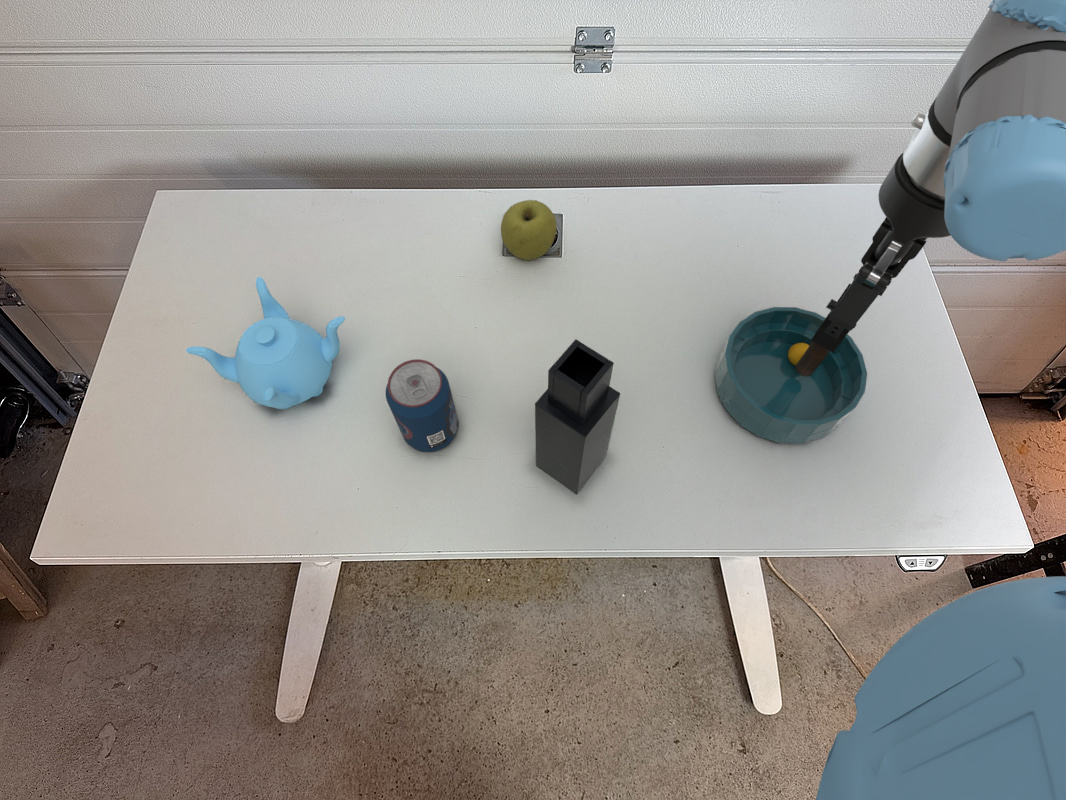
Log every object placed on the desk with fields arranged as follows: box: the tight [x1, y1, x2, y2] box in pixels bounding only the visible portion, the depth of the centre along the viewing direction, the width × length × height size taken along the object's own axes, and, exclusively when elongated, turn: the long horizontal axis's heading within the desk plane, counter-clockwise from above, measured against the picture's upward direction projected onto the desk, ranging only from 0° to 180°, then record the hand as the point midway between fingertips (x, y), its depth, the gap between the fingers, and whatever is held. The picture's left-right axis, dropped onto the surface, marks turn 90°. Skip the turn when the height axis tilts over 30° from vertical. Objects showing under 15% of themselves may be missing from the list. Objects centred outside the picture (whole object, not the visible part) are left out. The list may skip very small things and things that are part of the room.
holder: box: [534, 338, 621, 495], centre depth 66 cm, size 6×6×22 cm
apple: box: [500, 199, 558, 261], centre depth 88 cm, size 8×8×7 cm
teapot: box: [185, 276, 346, 410], centre depth 77 cm, size 13×13×10 cm
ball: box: [788, 343, 809, 366], centre depth 80 cm, size 3×3×3 cm
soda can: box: [385, 358, 460, 453], centre depth 72 cm, size 7×7×12 cm
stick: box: [796, 341, 830, 377], centre depth 71 cm, size 2×2×16 cm
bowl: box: [714, 306, 868, 445], centre depth 77 cm, size 16×16×6 cm
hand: (829, 335), depth 71 cm, fingers closed on stick, 2 cm apart
